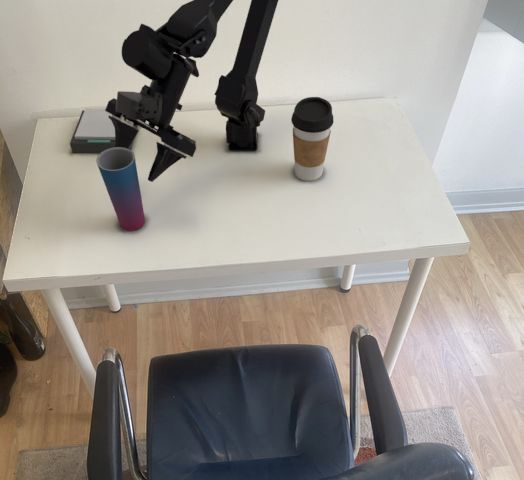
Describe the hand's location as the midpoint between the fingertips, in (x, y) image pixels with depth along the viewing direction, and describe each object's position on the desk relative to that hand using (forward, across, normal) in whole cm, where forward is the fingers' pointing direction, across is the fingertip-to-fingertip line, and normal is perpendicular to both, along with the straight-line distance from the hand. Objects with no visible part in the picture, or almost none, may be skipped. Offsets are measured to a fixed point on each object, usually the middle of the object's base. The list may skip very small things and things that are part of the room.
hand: (133, 171), depth 102 cm
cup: (+10, 0, +6) cm, 11 cm away
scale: (-2, -26, +17) cm, 31 cm away
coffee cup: (-15, +18, +30) cm, 38 cm away
